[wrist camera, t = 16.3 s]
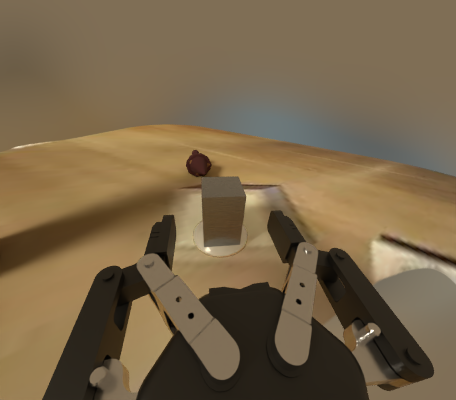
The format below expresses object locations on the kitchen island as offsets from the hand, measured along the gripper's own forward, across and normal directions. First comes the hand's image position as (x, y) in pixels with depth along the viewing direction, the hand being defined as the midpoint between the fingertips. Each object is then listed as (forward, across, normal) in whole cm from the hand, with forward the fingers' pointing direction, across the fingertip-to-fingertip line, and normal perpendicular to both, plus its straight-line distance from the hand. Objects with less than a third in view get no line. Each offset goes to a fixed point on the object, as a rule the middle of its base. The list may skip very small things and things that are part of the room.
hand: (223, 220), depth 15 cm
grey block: (+12, -2, +14) cm, 18 cm away
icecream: (+38, +2, +15) cm, 41 cm away
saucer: (+12, -2, +14) cm, 19 cm away
